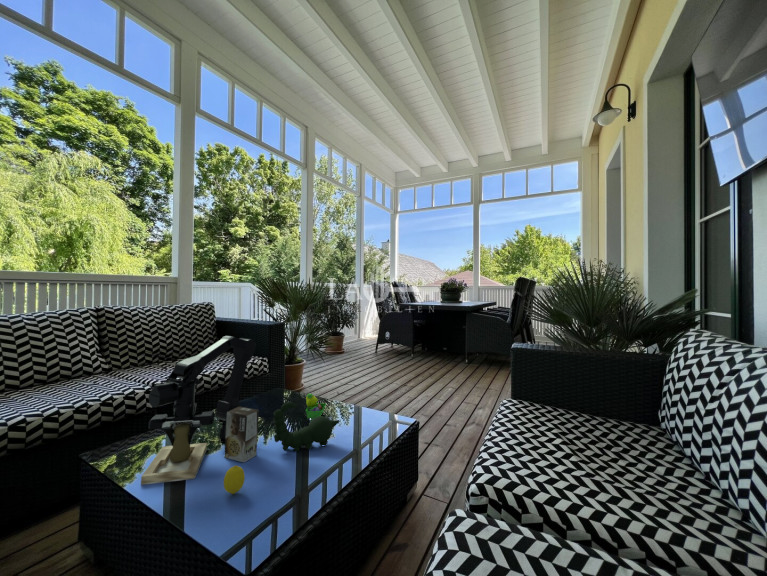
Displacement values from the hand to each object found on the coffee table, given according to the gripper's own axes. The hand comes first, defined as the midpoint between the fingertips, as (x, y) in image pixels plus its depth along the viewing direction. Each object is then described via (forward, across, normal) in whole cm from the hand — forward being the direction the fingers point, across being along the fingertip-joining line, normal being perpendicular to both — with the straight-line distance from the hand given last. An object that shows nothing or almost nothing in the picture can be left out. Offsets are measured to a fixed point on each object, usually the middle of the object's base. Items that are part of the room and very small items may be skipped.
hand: (181, 445), depth 111 cm
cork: (+4, 0, 0) cm, 4 cm away
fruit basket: (+6, -49, -31) cm, 58 cm away
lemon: (+5, -19, +24) cm, 31 cm away
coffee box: (+5, -19, +2) cm, 20 cm away
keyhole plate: (+5, 0, +4) cm, 6 cm away
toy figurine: (+6, -42, 0) cm, 42 cm away
